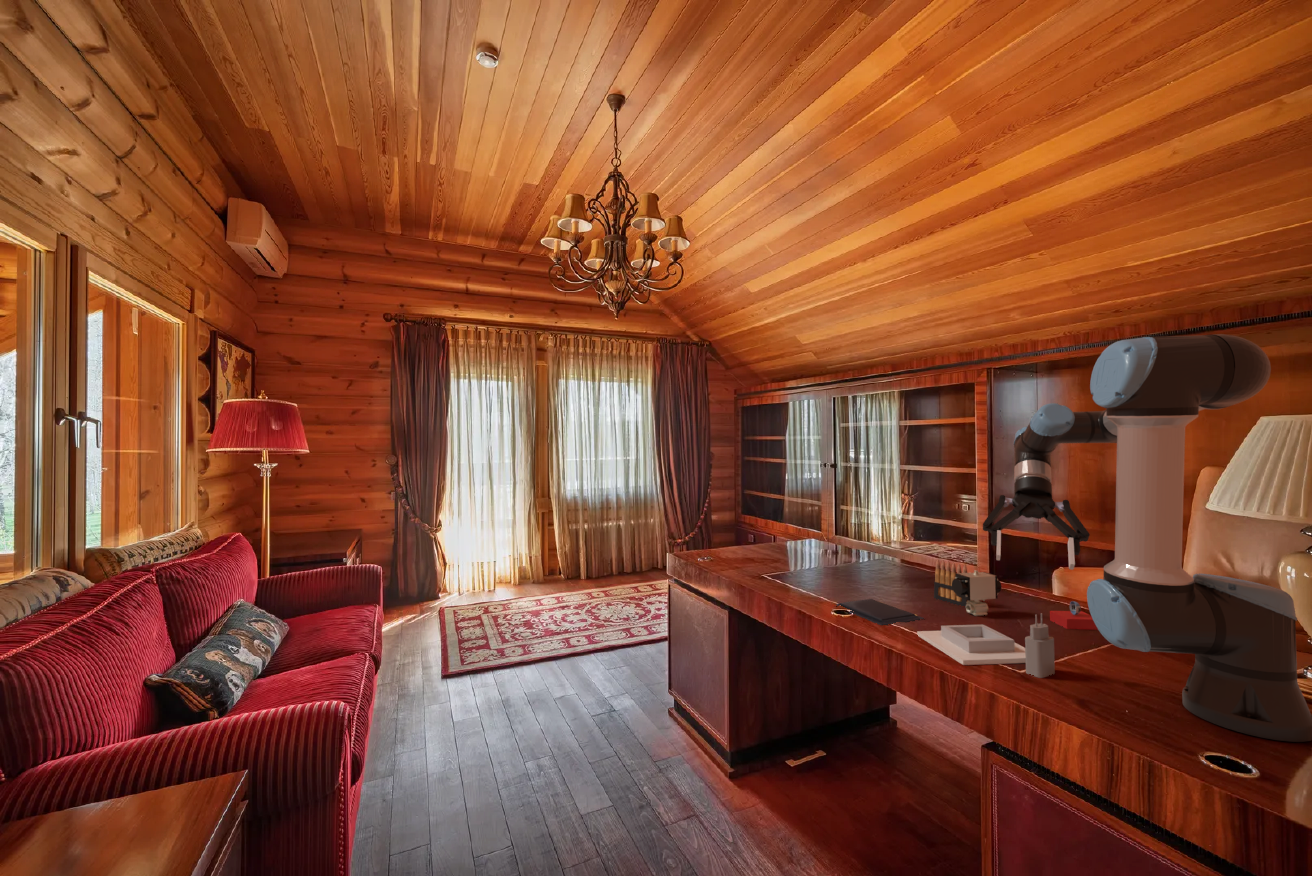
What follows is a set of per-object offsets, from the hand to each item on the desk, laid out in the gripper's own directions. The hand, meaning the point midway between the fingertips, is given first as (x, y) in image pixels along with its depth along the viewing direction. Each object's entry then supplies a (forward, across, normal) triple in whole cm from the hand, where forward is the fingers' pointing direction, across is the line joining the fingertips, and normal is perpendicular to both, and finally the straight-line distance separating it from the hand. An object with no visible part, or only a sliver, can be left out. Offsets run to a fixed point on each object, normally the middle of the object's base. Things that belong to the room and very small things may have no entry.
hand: (1034, 562), depth 121 cm
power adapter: (+24, -1, -1) cm, 24 cm away
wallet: (+11, +35, -24) cm, 43 cm away
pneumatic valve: (+2, +11, -32) cm, 34 cm away
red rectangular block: (+1, -11, -33) cm, 35 cm away
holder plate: (+19, +10, -8) cm, 23 cm away
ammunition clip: (-3, +17, -40) cm, 43 cm away
